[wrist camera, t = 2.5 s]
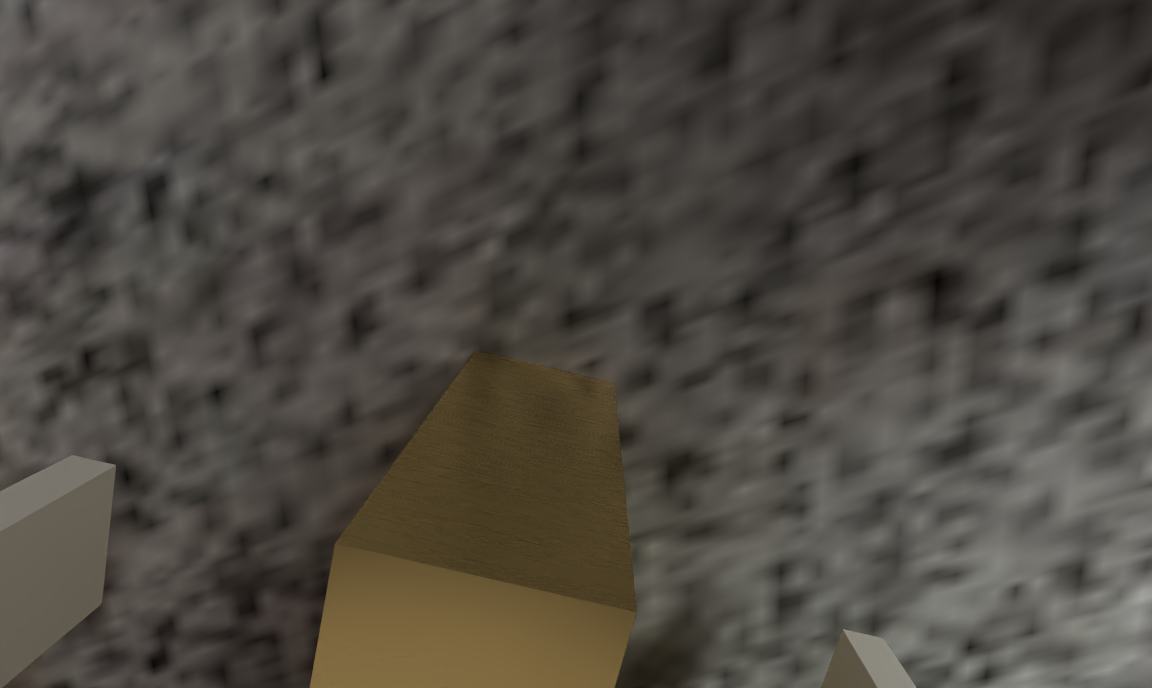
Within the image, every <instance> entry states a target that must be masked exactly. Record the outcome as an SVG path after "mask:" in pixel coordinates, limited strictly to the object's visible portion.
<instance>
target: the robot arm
mask: <svg viewBox="0 0 1152 688" xmlns="http://www.w3.org/2000/svg"><path fill="white" fill-rule="evenodd" d="M115 471H116V465H114V464H109V463H105V462H100V461H96V460H92V459H87V458H83V457H78V456H74V455H71V456H69V457H67V458H65V459H63V460H61V461H59V462H57V463H55V464H53V465H51V466H49V467H47V468H45V469H43V470H41V471H39V472H37V473H35V474H33V475H31V476H29V477H27V478H25V479H23V480H21V481H19V482H17V483H15V484H14V485H12V486H10V487H8V488H6V489H4V490H2V491H0V688H3V687H4V686H5V685H6V684H7V683H9V682H10V681H11V680H12V679H13V678H14V677H16V676H17V675H18V674H19V673H20V672H22V671H23V670H24V669H25V668H26V667H27V666H29V665H30V664H31V663H32V662H33V661H35V660H36V659H37V658H38V657H39V656H41V655H42V654H43V653H44V652H45V651H46V650H48V649H49V648H50V647H51V646H52V645H54V644H55V643H56V642H57V641H58V640H59V639H61V638H62V637H63V636H64V635H65V634H67V633H68V632H69V631H70V630H71V629H73V628H74V627H75V626H76V625H77V624H78V623H80V622H81V621H82V620H83V619H84V618H86V617H87V616H88V615H89V614H90V613H91V612H93V611H94V610H95V609H96V608H97V607H99V606H100V605H101V604H102V598H103V589H104V579H105V569H106V559H107V549H108V540H109V530H110V520H111V510H112V500H113V491H114V481H115ZM821 688H916V686H915V685H914V683H913V682H912V680H911V679H910V677H909V676H908V674H907V673H906V671H905V670H904V668H903V667H902V665H901V664H900V662H899V661H898V659H897V658H896V656H895V655H894V653H893V652H892V650H891V649H890V647H889V646H888V645H887V643H886V642H885V640H884V639H883V638H880V637H875V636H871V635H866V634H862V633H858V632H853V631H849V630H844V629H843V630H842V632H841V635H840V638H839V641H838V643H837V646H836V649H835V652H834V654H833V657H832V660H831V662H830V665H829V668H828V671H827V673H826V676H825V679H824V681H823V684H822V687H821Z"/></svg>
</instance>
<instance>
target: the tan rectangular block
mask: <svg viewBox="0 0 1152 688" xmlns="http://www.w3.org/2000/svg"><path fill="white" fill-rule="evenodd" d="M636 613H637V610H636V600H635V590H634V580H633V569H632V559H631V549H630V539H629V529H628V519H627V508H626V498H625V488H624V478H623V468H622V457H621V447H620V437H619V427H618V417H617V407H616V396H615V386H614V383H611V382H607V381H603V380H599V379H595V378H591V377H586V376H582V375H578V374H574V373H570V372H565V371H561V370H557V369H553V368H549V367H545V366H540V365H536V364H532V363H528V362H524V361H520V360H515V359H511V358H507V357H503V356H499V355H494V354H490V353H486V352H482V351H478V350H476V351H475V352H474V353H473V355H472V356H471V357H470V359H469V360H468V362H467V363H466V364H465V366H464V367H463V368H462V370H461V371H460V372H459V374H458V375H457V377H456V378H455V379H454V381H453V382H452V383H451V385H450V386H449V388H448V389H447V390H446V392H445V393H444V394H443V396H442V397H441V399H440V400H439V401H438V403H437V404H436V405H435V407H434V408H433V410H432V411H431V412H430V414H429V415H428V416H427V418H426V419H425V420H424V422H423V423H422V425H421V426H420V427H419V429H418V430H417V431H416V433H415V434H414V436H413V437H412V438H411V440H410V441H409V442H408V444H407V445H406V447H405V448H404V449H403V451H402V452H401V453H400V455H399V456H398V458H397V459H396V460H395V462H394V463H393V464H392V466H391V467H390V468H389V470H388V471H387V473H386V474H385V475H384V477H383V478H382V479H381V481H380V482H379V484H378V485H377V486H376V488H375V489H374V490H373V492H372V493H371V495H370V496H369V497H368V499H367V500H366V501H365V503H364V504H363V506H362V507H361V508H360V510H359V511H358V512H357V514H356V515H355V516H354V518H353V519H352V521H351V522H350V523H349V525H348V526H347V527H346V529H345V530H344V532H343V533H342V534H341V536H340V537H339V538H338V540H337V541H336V543H335V546H334V552H333V558H332V564H331V569H330V575H329V581H328V586H327V592H326V598H325V603H324V609H323V615H322V621H321V626H320V632H319V638H318V643H317V649H316V655H315V660H314V666H313V672H312V677H311V683H310V688H615V684H616V681H617V678H618V674H619V671H620V667H621V664H622V661H623V657H624V654H625V651H626V647H627V644H628V640H629V637H630V634H631V630H632V627H633V624H634V620H635V617H636Z"/></svg>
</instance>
